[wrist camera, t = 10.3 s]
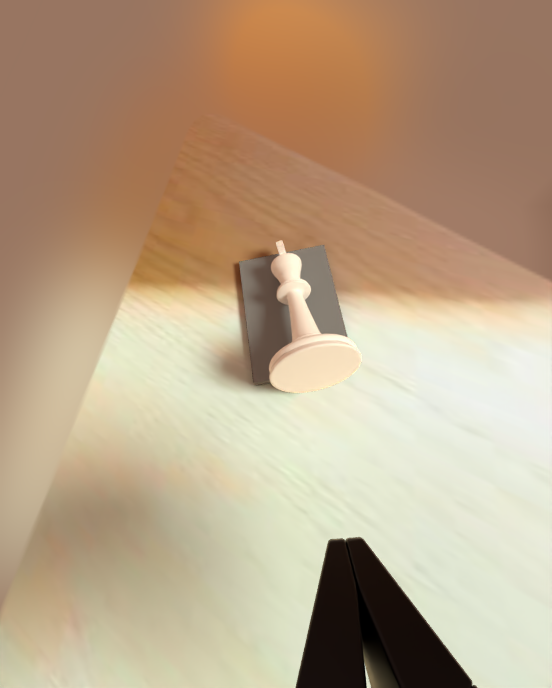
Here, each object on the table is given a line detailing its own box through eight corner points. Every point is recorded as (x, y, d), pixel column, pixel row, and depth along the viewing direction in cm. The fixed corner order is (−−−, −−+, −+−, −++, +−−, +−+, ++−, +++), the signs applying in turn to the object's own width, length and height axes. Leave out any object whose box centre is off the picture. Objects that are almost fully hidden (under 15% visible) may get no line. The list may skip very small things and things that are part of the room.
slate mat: (354, 367, 20) (354, 365, 20) (254, 385, 21) (253, 383, 20) (323, 248, 24) (324, 244, 24) (240, 265, 24) (239, 261, 24)
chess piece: (257, 363, 16) (233, 227, 22) (281, 400, 20) (256, 279, 26) (360, 333, 16) (309, 201, 21) (364, 378, 20) (320, 258, 25)
